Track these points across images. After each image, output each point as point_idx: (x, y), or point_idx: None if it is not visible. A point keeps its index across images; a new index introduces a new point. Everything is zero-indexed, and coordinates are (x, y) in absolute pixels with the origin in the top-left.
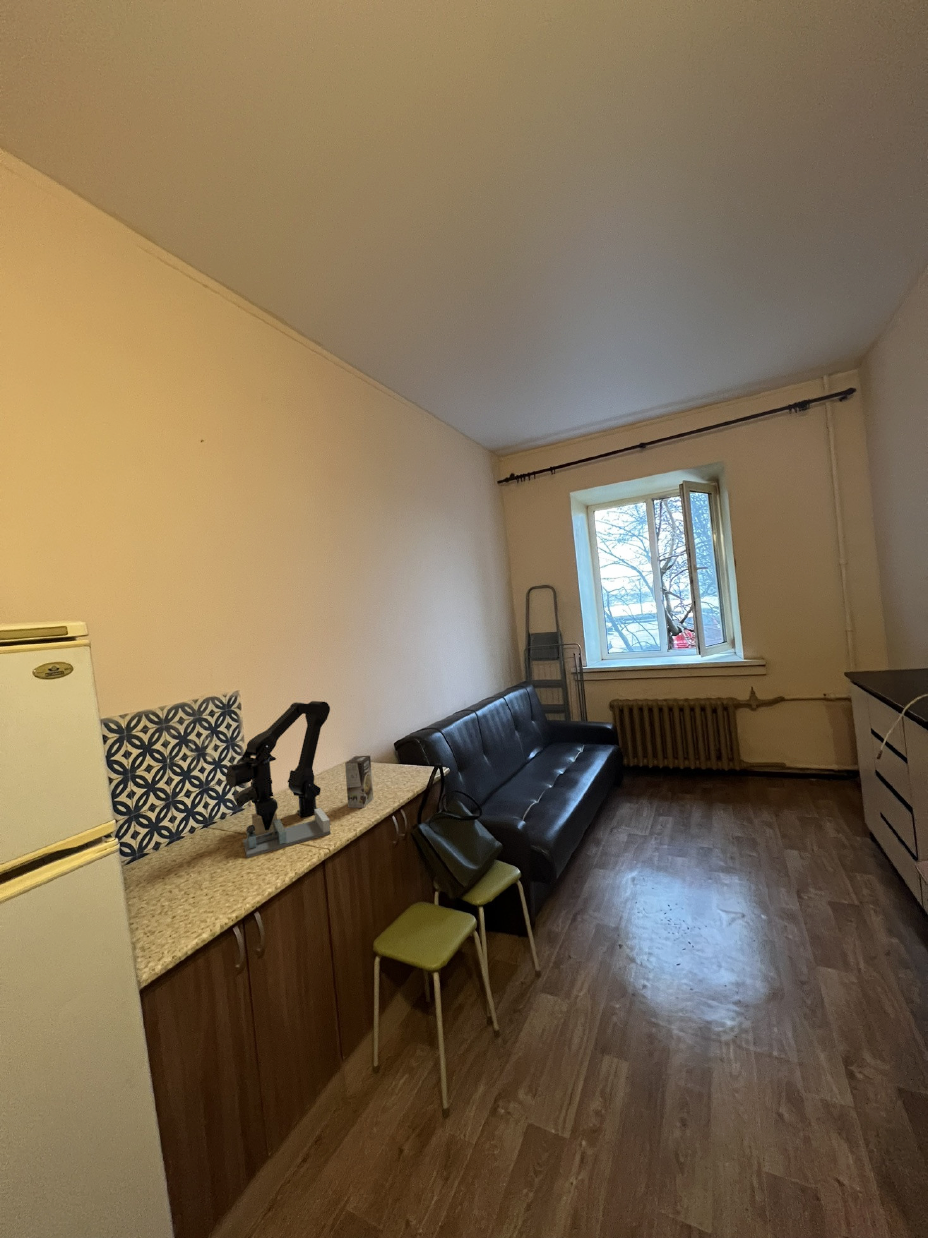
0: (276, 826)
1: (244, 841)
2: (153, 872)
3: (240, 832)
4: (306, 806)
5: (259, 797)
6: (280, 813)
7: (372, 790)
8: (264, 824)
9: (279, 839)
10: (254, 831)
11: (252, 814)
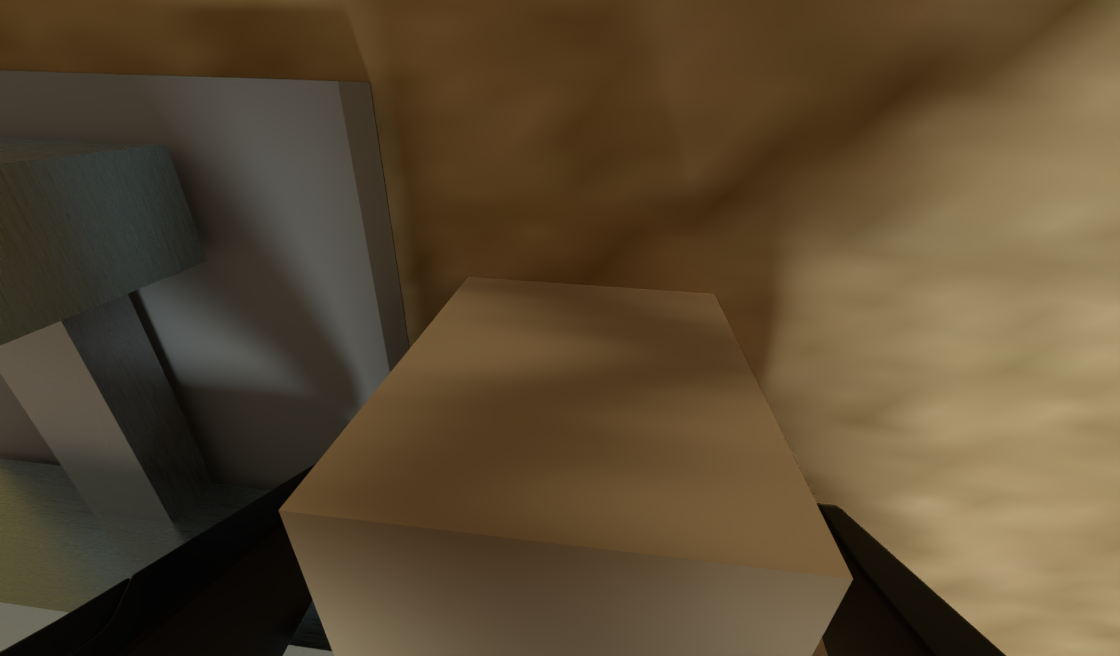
0: (29, 615)
1: (226, 98)
2: None
3: (941, 104)
4: None
5: None
6: (1041, 652)
7: None
8: (209, 538)
9: None
10: (433, 324)
11: (786, 593)
